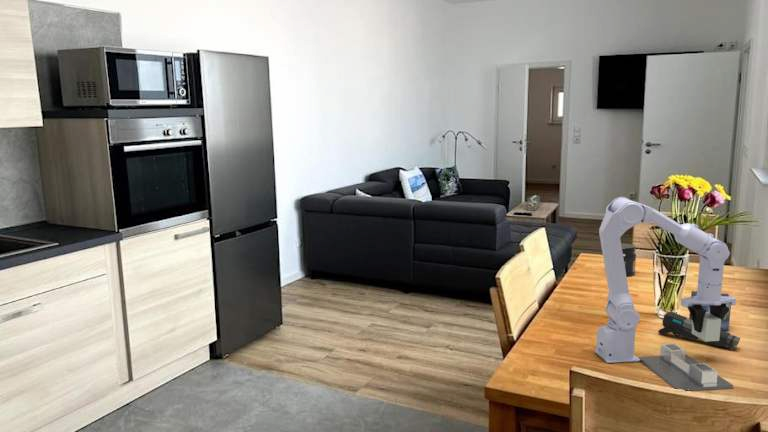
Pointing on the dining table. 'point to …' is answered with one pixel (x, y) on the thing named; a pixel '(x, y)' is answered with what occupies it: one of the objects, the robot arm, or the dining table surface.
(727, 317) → the small box
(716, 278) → the robot arm
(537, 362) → the dining table surface
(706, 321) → the block
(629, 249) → the supplement container
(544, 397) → the dining table surface
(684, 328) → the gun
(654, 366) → the panel
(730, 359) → the dining table surface
